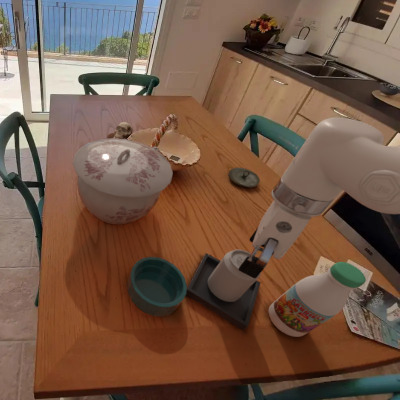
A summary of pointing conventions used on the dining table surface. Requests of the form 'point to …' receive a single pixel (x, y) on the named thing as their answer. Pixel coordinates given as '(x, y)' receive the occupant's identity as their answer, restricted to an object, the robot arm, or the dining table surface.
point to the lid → (244, 177)
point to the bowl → (156, 286)
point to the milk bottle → (315, 299)
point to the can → (230, 277)
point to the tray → (230, 311)
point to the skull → (122, 131)
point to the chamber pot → (120, 178)
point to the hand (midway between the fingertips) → (252, 257)
